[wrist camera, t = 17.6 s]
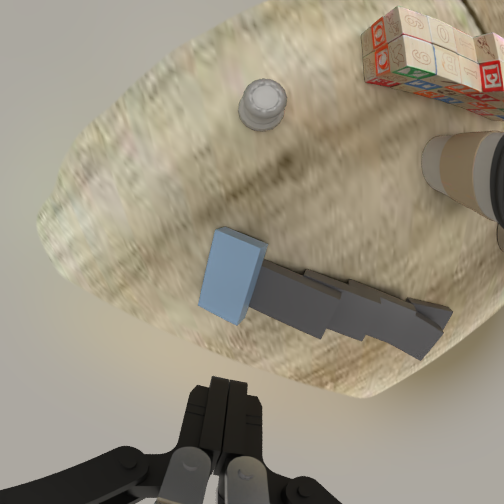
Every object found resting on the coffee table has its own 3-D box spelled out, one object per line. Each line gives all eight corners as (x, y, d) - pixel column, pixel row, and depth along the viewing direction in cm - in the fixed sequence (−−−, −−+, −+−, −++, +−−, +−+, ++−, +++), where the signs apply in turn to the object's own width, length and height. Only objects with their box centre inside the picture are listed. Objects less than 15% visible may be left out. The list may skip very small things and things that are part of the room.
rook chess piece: (263, 140, 27) (269, 138, 19) (228, 112, 26) (221, 100, 18) (293, 108, 25) (309, 95, 18) (258, 80, 24) (261, 57, 17)
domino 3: (349, 278, 32) (413, 304, 30) (333, 313, 34) (395, 337, 32) (349, 284, 30) (416, 311, 28) (332, 321, 32) (397, 346, 30)
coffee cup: (475, 173, 27) (562, 200, 13) (435, 214, 29) (521, 262, 15) (445, 113, 25) (540, 113, 11) (400, 153, 27) (498, 171, 13)
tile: (268, 244, 28) (244, 318, 31) (225, 226, 30) (207, 299, 33) (260, 248, 27) (236, 325, 30) (215, 229, 28) (198, 305, 31)
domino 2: (306, 268, 32) (380, 296, 29) (292, 306, 33) (362, 332, 31) (303, 274, 30) (381, 304, 28) (289, 313, 31) (361, 341, 29)
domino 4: (405, 295, 34) (446, 305, 35) (389, 325, 36) (431, 332, 37) (412, 302, 32) (453, 312, 33) (394, 333, 34) (436, 339, 35)
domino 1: (264, 259, 31) (342, 292, 29) (252, 298, 33) (323, 330, 30) (258, 264, 29) (340, 299, 27) (245, 304, 31) (320, 339, 28)
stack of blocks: (363, 84, 24) (426, 57, 13) (359, 34, 22) (413, -11, 11) (493, 121, 24) (558, 127, 13) (490, 80, 22) (552, 76, 11)
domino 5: (391, 295, 33) (440, 325, 31) (369, 325, 35) (418, 352, 33) (393, 301, 31) (443, 332, 29) (370, 332, 33) (420, 360, 31)
